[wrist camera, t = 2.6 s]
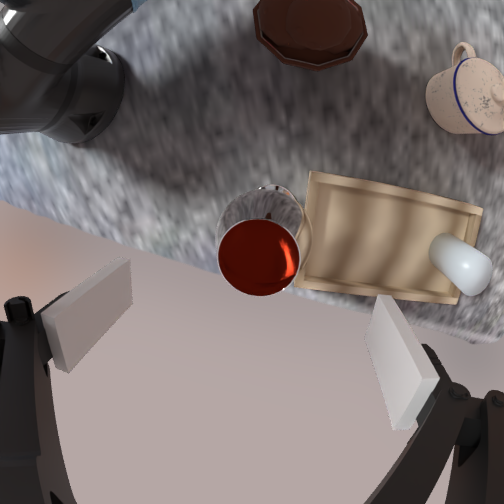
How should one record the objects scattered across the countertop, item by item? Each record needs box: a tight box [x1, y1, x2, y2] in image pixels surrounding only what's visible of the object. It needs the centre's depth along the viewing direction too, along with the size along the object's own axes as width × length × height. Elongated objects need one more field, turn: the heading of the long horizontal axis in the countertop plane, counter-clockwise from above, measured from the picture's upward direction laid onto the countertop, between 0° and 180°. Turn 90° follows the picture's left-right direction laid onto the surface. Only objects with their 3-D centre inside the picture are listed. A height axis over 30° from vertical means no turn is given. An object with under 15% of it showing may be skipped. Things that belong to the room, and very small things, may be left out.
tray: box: [294, 171, 483, 305], centre depth 36 cm, size 24×14×3 cm, turn 84°
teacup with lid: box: [426, 42, 504, 135], centre depth 24 cm, size 12×9×12 cm
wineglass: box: [215, 184, 313, 297], centre depth 29 cm, size 8×8×18 cm
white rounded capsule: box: [429, 233, 492, 296], centre depth 31 cm, size 5×5×9 cm
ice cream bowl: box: [253, 0, 368, 71], centre depth 24 cm, size 11×11×15 cm
